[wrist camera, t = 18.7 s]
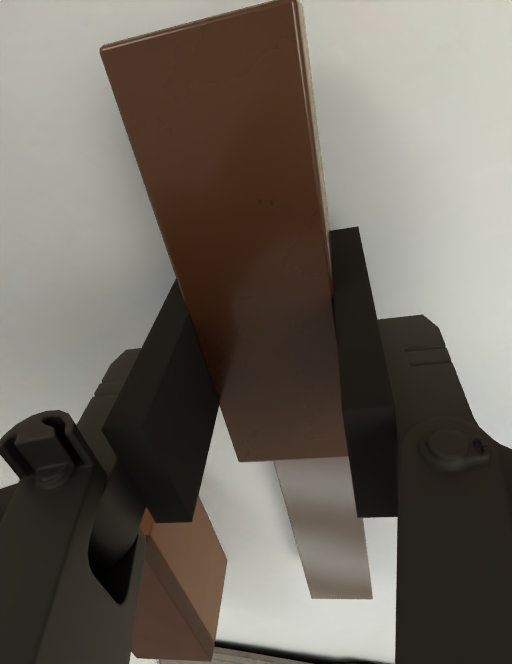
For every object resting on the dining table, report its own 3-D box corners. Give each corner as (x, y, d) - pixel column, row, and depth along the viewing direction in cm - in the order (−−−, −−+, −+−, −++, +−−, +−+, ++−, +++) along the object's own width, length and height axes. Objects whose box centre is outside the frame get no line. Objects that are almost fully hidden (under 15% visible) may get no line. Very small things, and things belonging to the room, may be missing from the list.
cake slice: (96, 450, 21) (46, 555, 17) (176, 446, 20) (143, 555, 16) (162, 560, 27) (136, 658, 23) (227, 560, 26) (212, 662, 22)
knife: (159, 38, 10) (95, 46, 7) (302, 1, 9) (296, -7, 6) (309, 586, 23) (308, 669, 20) (373, 587, 22) (382, 673, 19)
